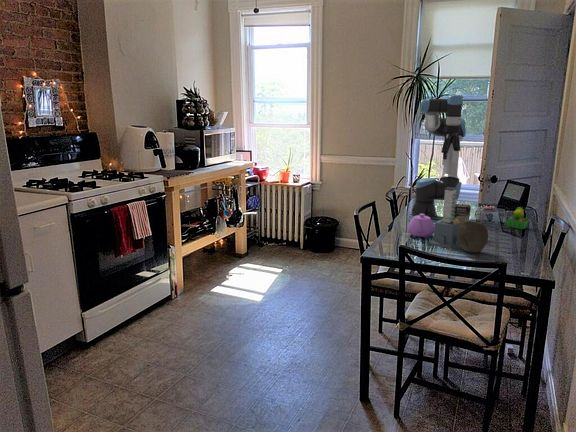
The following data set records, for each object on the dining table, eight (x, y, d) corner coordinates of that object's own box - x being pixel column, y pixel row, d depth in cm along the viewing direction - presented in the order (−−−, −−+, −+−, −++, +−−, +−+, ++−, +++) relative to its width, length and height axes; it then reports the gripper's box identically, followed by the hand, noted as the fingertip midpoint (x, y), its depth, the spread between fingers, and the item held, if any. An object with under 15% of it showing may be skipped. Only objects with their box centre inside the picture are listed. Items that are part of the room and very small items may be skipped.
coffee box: (449, 234, 249) (452, 206, 245) (450, 231, 255) (452, 203, 251) (468, 236, 246) (470, 207, 242) (467, 233, 252) (470, 204, 248)
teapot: (432, 242, 235) (434, 220, 232) (404, 240, 240) (405, 217, 237) (435, 232, 254) (437, 211, 250) (409, 230, 259) (410, 209, 256)
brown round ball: (492, 256, 215) (496, 225, 212) (463, 257, 214) (466, 226, 211) (478, 246, 229) (481, 217, 225) (450, 247, 228) (453, 218, 224)
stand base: (428, 244, 234) (430, 219, 230) (441, 237, 245) (442, 213, 242) (451, 248, 226) (453, 223, 223) (463, 241, 238) (465, 217, 234)
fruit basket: (503, 226, 264) (505, 207, 262) (508, 223, 271) (510, 205, 268) (524, 230, 257) (527, 210, 254) (529, 227, 263) (532, 208, 260)
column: (441, 228, 233) (445, 188, 228) (444, 226, 236) (448, 186, 231) (451, 230, 230) (454, 189, 225) (454, 228, 233) (457, 187, 228)
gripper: (450, 126, 237) (447, 166, 242) (468, 124, 255) (464, 162, 261) (436, 125, 242) (433, 165, 247) (455, 123, 260) (452, 160, 265)
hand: (449, 163), depth 254 cm, fingers open, 13 cm apart
